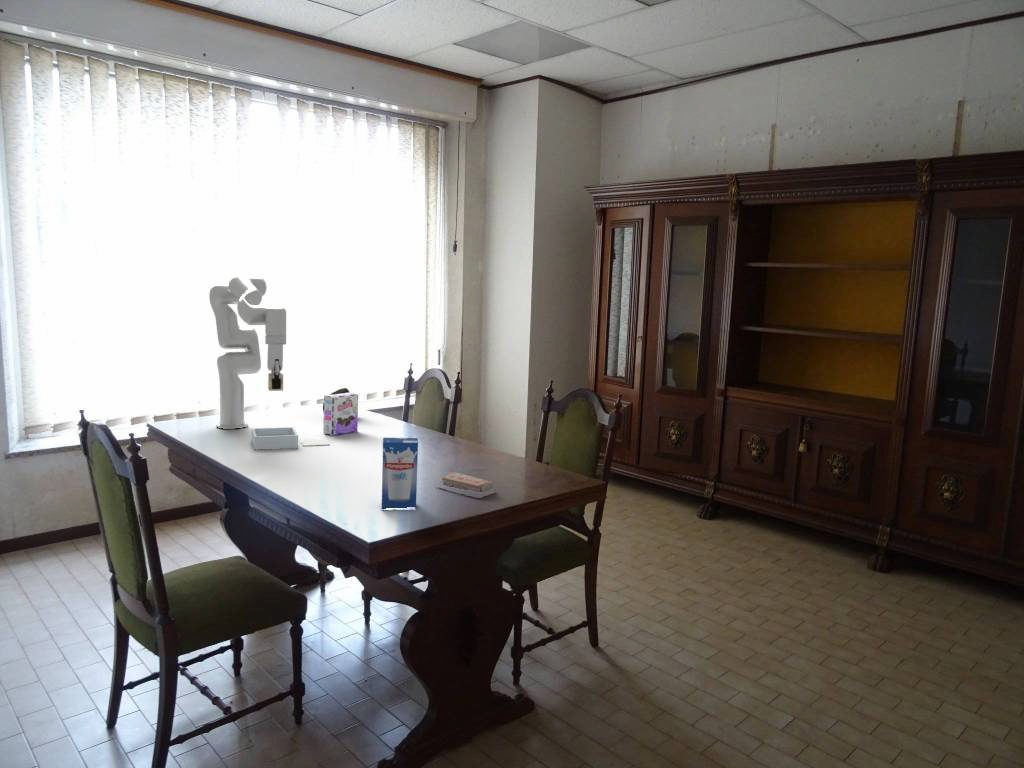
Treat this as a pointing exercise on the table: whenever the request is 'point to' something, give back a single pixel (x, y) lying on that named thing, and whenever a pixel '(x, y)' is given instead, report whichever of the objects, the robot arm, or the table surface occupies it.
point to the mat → (314, 442)
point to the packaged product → (466, 482)
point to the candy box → (340, 413)
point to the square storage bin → (274, 438)
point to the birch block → (270, 376)
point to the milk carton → (399, 472)
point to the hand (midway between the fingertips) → (275, 387)
